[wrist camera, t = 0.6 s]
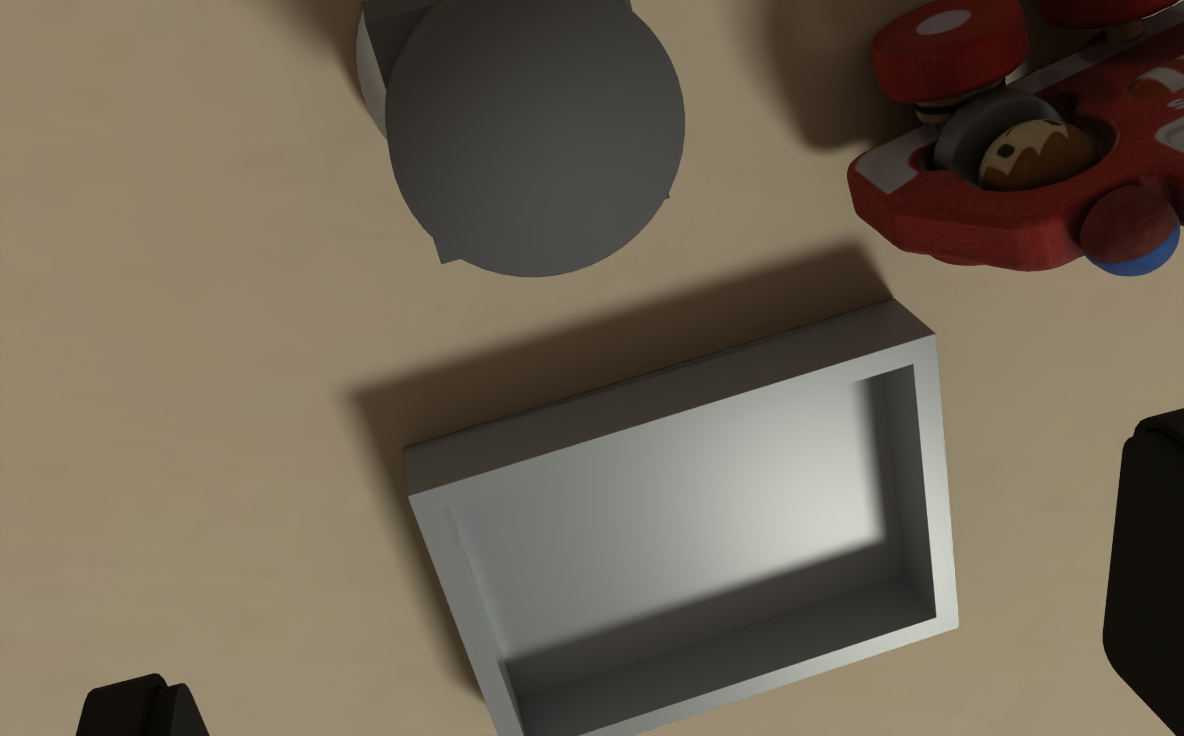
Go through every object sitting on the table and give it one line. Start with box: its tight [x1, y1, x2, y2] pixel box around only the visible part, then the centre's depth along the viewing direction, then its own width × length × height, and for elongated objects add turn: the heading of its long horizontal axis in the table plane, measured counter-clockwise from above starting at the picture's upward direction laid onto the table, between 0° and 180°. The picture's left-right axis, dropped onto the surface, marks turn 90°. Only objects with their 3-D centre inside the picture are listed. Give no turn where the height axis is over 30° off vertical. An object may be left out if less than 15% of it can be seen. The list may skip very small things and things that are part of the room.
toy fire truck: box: [847, 0, 1184, 276], centre depth 29 cm, size 7×12×10 cm, turn 112°
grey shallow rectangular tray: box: [403, 299, 959, 736], centre depth 37 cm, size 17×12×3 cm
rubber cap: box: [362, 0, 685, 277], centre depth 24 cm, size 6×6×5 cm
